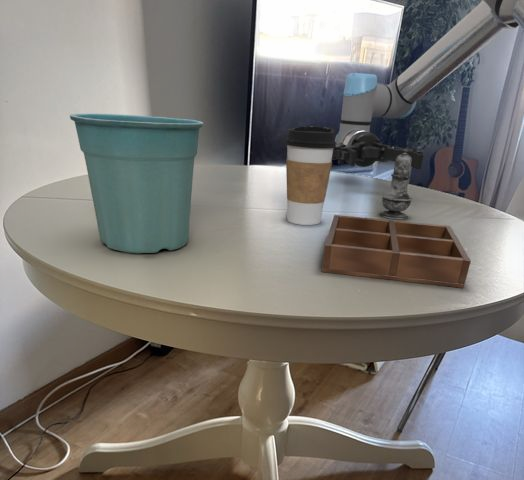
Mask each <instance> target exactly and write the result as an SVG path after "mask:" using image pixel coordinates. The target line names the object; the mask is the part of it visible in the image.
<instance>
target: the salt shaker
mask: <svg viewBox="0 0 524 480" xmlns="http://www.w3.org/2000/svg"><path fill="white" fill-rule="evenodd" d="M404 149H405V150H404V153H402V154H401V155H398V156H397V157H396V161H394V167H393V172H392V173H391V174H390V176H391V182H390V186H389V190H388V191H387V192H386V193H383V194H381V195H380V197H381V198H382V199H381V203H382V206H383V207H384V209H385V210H384V211H382V212H380V213H379V216H380V217H382V218H385V219H388V220H407V219H408V218H409V216H408V215H407V214H406V213H405V212H404V211H406V210H407V209H409V207H410V205H411V203H412V201H413V200H414V198H413V197H412V196H411V195H409V193H408V185H409V181H410V179H411V178H412V176H411V175H410V173H411V168H412V167H411V163H412V158H411V156H409V155H408V154H406V152H407V150H406V149H407V148H404Z"/></svg>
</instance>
